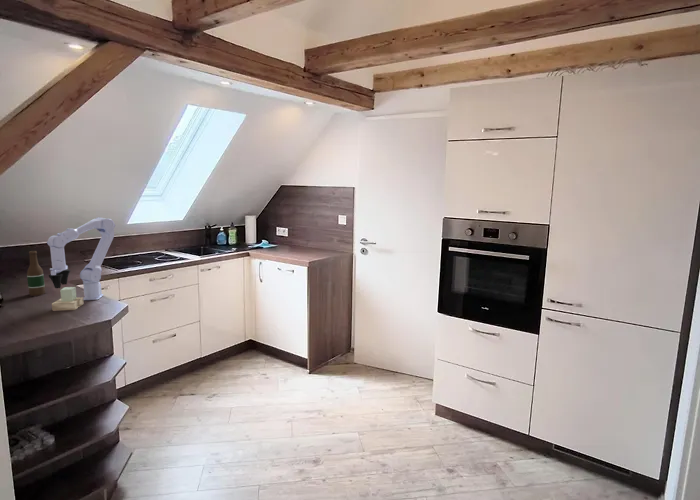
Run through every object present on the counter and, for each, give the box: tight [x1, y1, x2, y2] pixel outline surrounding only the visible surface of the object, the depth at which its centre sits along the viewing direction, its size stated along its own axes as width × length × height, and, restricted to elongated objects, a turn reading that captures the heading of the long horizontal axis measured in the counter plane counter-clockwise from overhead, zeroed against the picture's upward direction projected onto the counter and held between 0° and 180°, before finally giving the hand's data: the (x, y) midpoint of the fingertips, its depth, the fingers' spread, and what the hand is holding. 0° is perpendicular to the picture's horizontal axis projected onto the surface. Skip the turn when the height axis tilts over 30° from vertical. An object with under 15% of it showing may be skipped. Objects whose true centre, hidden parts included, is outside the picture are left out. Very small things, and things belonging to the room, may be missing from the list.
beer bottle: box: [26, 250, 46, 297], centre depth 237 cm, size 8×8×24 cm
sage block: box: [59, 286, 77, 302], centre depth 216 cm, size 5×5×6 cm
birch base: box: [51, 296, 85, 312], centre depth 216 cm, size 10×10×4 cm
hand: (61, 286), depth 218 cm, fingers open, 7 cm apart
